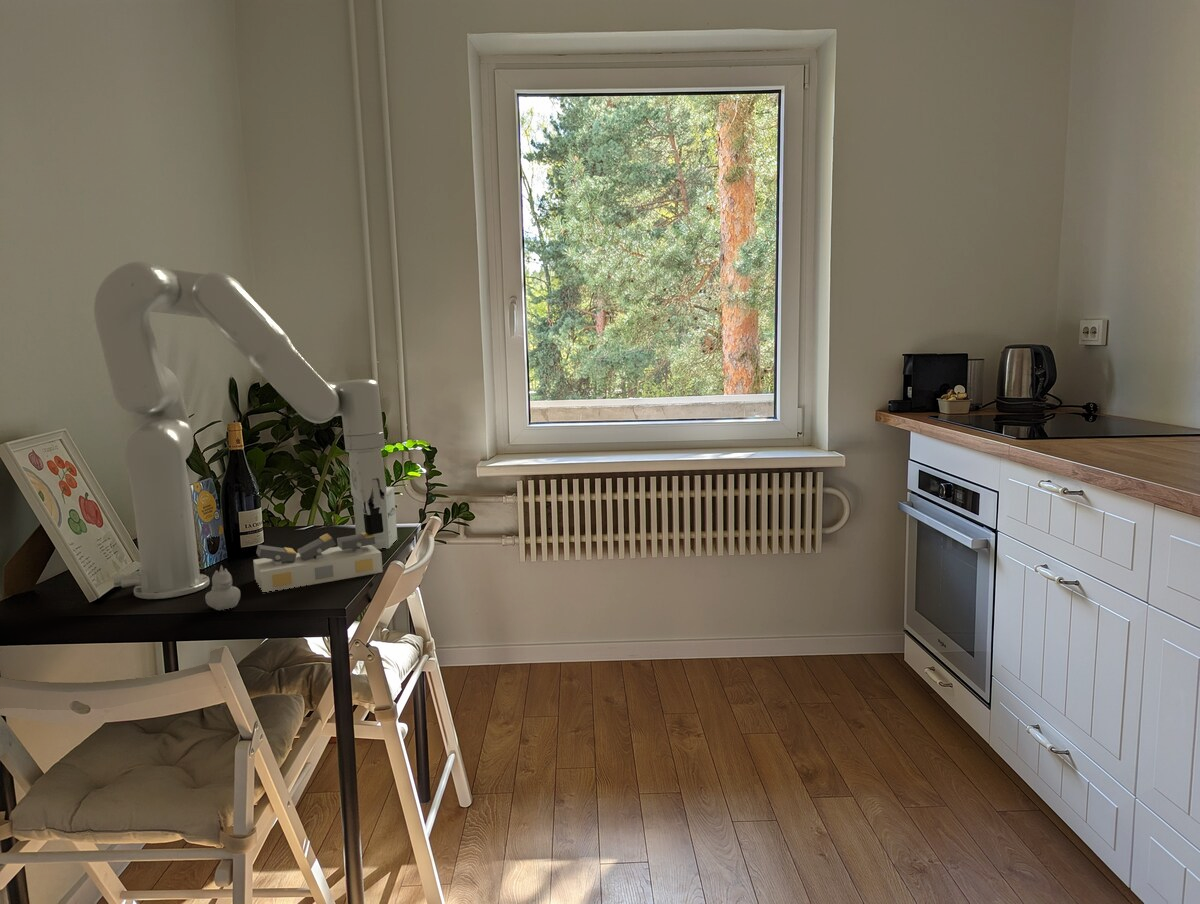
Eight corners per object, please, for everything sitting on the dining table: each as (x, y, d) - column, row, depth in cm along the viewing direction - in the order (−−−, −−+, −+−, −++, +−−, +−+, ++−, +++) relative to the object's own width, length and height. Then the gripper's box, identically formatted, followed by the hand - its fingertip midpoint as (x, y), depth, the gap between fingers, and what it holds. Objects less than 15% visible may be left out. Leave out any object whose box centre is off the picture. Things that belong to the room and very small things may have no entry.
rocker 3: (342, 550, 157) (341, 541, 157) (337, 545, 161) (336, 536, 161) (375, 544, 160) (374, 535, 160) (369, 539, 164) (368, 531, 164)
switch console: (263, 593, 148) (260, 569, 147) (255, 579, 156) (252, 556, 156) (383, 572, 158) (381, 549, 158) (369, 560, 167) (367, 539, 167)
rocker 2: (304, 561, 154) (300, 553, 153) (300, 556, 157) (296, 548, 157) (336, 545, 156) (332, 537, 156) (331, 540, 160) (327, 532, 160)
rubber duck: (214, 616, 136) (209, 570, 135) (201, 608, 141) (196, 563, 139) (247, 608, 139) (242, 563, 138) (233, 600, 144) (228, 556, 143)
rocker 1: (259, 557, 149) (261, 548, 149) (255, 552, 153) (258, 543, 153) (295, 562, 153) (297, 553, 153) (290, 557, 157) (292, 548, 157)
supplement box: (389, 549, 176) (385, 492, 174) (355, 550, 176) (351, 493, 175) (398, 540, 184) (394, 486, 182) (366, 541, 184) (362, 486, 182)
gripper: (336, 441, 164) (346, 529, 167) (355, 448, 151) (365, 543, 154) (373, 436, 167) (382, 523, 170) (394, 443, 155) (404, 536, 157)
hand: (374, 532), depth 162 cm, fingers closed
